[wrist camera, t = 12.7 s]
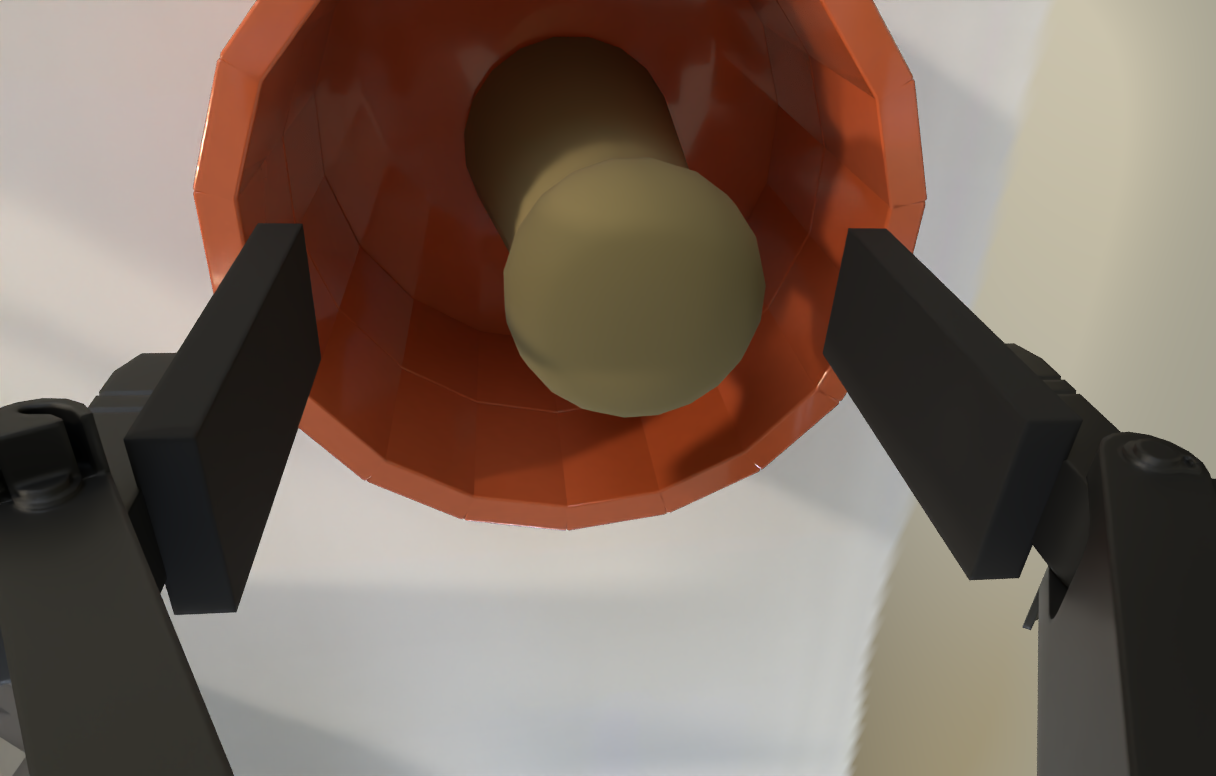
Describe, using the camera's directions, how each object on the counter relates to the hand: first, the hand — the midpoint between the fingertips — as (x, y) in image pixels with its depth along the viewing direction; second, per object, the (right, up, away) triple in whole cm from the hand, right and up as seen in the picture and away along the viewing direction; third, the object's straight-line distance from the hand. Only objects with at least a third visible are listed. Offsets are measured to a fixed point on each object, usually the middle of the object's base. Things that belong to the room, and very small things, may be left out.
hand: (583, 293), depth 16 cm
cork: (-1, +5, +9) cm, 10 cm away
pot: (-1, +6, +9) cm, 11 cm away
